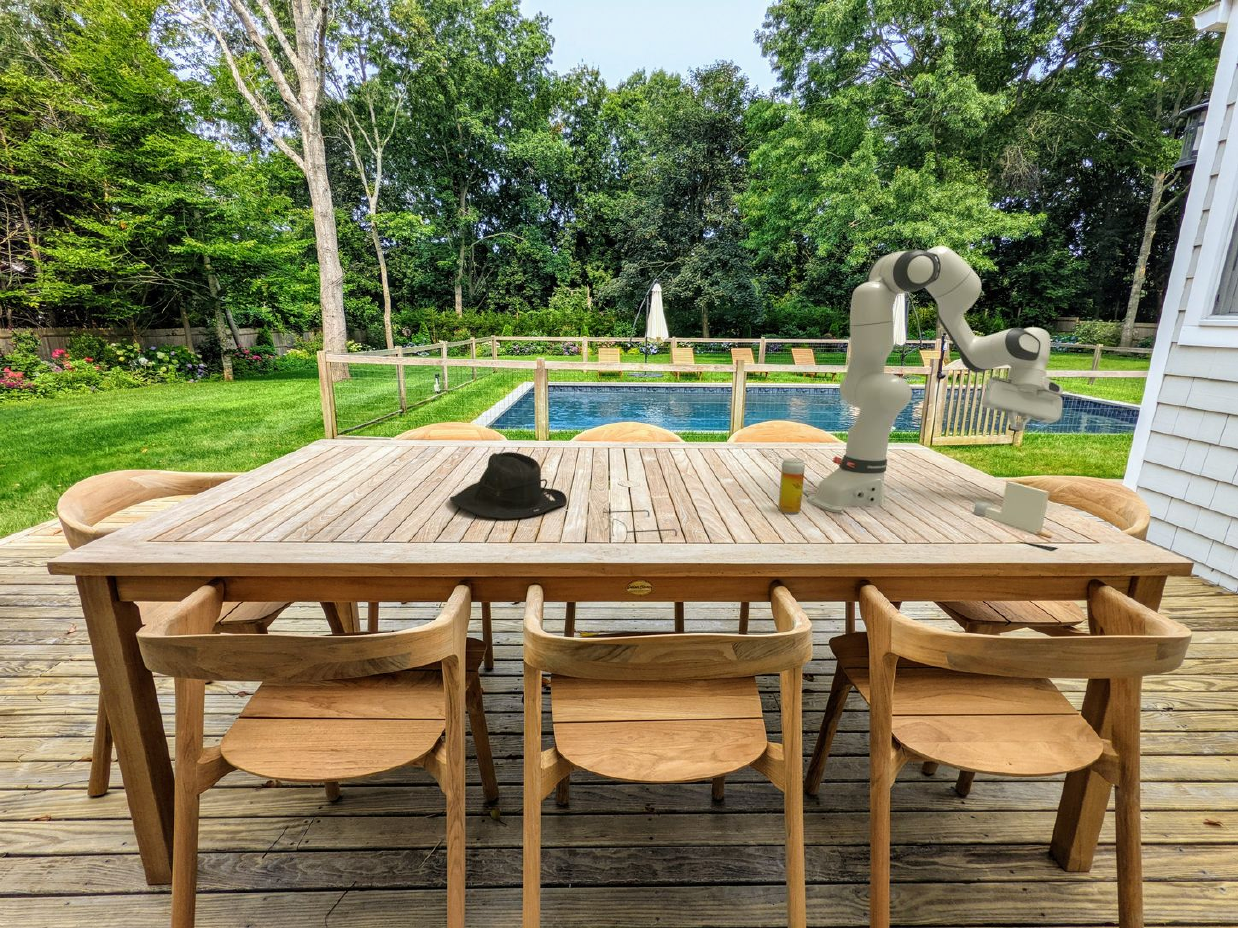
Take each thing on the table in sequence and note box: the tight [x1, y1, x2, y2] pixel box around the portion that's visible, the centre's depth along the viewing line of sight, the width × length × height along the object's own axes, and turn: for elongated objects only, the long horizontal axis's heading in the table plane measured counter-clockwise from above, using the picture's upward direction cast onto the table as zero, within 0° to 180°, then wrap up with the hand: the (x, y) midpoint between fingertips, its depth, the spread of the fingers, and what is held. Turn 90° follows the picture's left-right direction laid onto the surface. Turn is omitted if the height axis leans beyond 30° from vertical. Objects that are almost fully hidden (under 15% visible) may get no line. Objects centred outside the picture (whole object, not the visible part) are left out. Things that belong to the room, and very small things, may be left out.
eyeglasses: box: [602, 507, 678, 543], centre depth 141 cm, size 16×15×5 cm
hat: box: [449, 451, 568, 520], centre depth 161 cm, size 32×35×14 cm
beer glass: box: [777, 457, 806, 515], centre depth 157 cm, size 6×6×15 cm
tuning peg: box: [973, 481, 1053, 539], centre depth 146 cm, size 21×4×11 cm, turn 17°
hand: (1016, 429), depth 158 cm, fingers closed
